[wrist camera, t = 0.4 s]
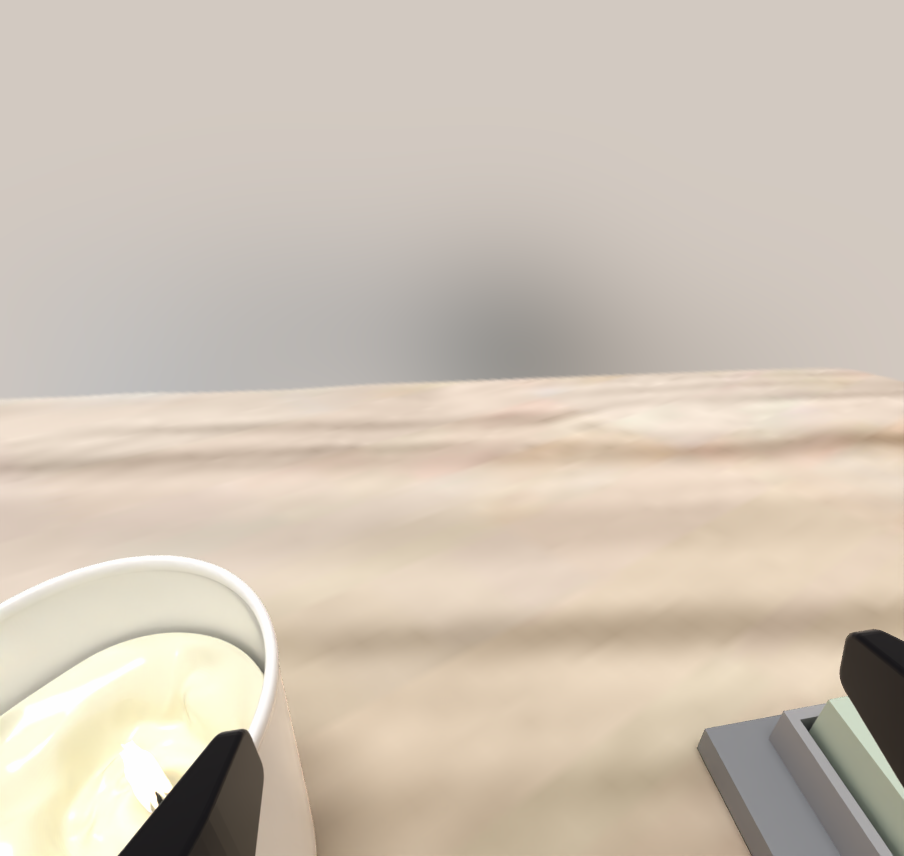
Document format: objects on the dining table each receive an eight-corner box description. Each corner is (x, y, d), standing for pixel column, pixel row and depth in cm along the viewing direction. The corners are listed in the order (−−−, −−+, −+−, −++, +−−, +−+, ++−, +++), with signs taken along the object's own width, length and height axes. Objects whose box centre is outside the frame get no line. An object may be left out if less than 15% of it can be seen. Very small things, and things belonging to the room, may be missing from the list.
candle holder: (387, 808, 22) (349, 613, 16) (206, 1185, 15) (-9, 1118, 8) (199, 713, 26) (103, 519, 19) (-23, 983, 19) (-305, 820, 12)
